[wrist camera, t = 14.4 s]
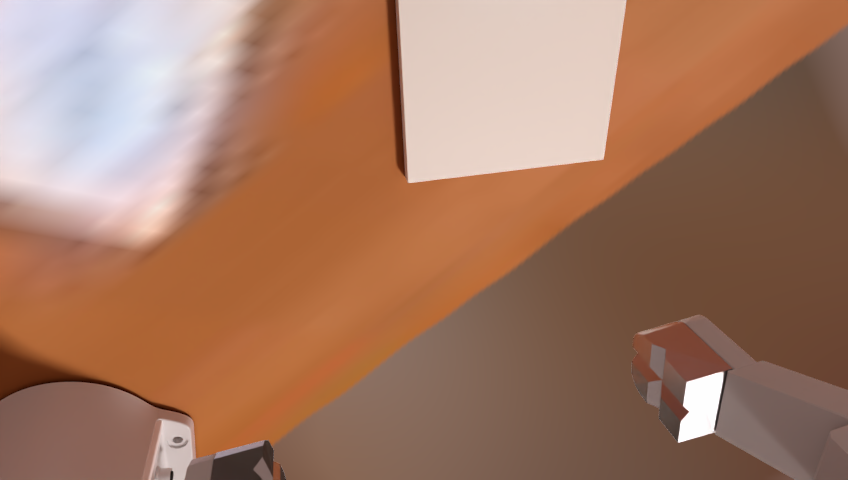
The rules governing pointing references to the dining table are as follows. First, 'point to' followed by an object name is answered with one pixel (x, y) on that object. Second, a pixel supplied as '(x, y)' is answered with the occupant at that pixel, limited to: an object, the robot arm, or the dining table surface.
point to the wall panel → (505, 83)
